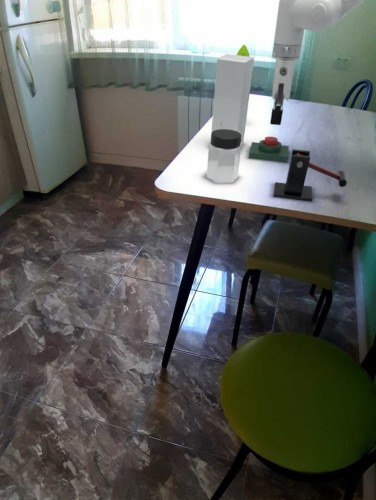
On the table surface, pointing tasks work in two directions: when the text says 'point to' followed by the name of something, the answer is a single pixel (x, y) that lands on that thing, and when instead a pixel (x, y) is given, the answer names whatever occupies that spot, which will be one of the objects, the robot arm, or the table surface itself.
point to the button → (270, 141)
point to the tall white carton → (232, 93)
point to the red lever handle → (329, 173)
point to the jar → (224, 156)
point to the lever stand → (295, 179)
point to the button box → (269, 152)
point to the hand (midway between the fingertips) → (275, 123)
